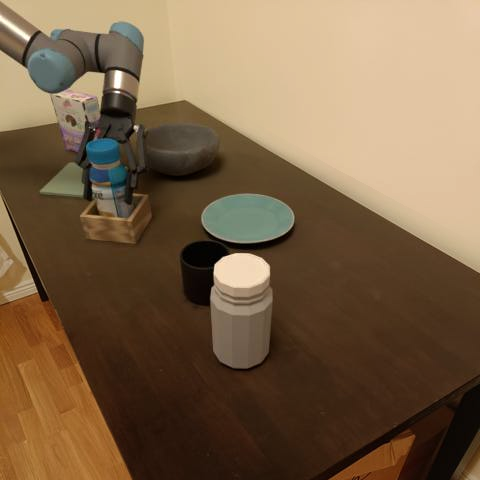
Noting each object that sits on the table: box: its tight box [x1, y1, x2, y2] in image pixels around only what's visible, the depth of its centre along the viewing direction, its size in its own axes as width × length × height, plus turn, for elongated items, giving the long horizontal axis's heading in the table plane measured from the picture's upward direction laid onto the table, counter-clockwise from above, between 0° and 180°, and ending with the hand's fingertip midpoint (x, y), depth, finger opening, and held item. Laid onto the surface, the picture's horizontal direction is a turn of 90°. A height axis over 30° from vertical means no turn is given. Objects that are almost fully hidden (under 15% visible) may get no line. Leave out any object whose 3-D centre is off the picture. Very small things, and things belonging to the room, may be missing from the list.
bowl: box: [135, 122, 220, 177], centre depth 122 cm, size 23×22×10 cm
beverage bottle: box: [86, 139, 134, 219], centre depth 96 cm, size 8×8×20 cm
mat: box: [39, 161, 129, 200], centre depth 119 cm, size 18×18×1 cm
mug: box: [179, 239, 231, 306], centre depth 84 cm, size 9×12×9 cm
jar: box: [210, 252, 274, 370], centre depth 68 cm, size 10×10×18 cm
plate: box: [200, 193, 295, 245], centre depth 102 cm, size 22×22×3 cm
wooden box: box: [79, 193, 153, 245], centre depth 101 cm, size 12×12×6 cm
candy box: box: [49, 89, 105, 154], centre depth 128 cm, size 14×6×16 cm, turn 58°
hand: (107, 201), depth 94 cm, fingers open, 9 cm apart
